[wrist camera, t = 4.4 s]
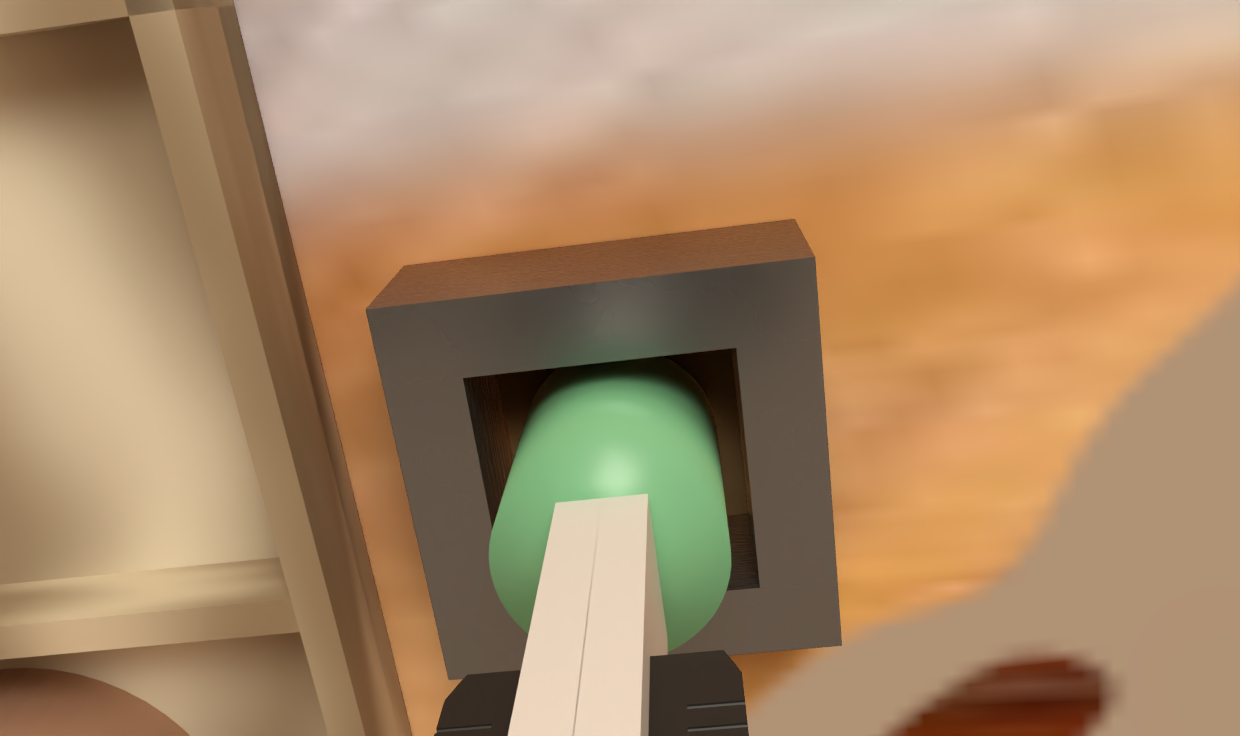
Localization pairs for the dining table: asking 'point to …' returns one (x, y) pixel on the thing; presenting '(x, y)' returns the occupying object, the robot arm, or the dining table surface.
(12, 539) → the wooden serving tray
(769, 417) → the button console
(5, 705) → the taupe pillar candle
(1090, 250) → the dining table surface
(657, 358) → the button
